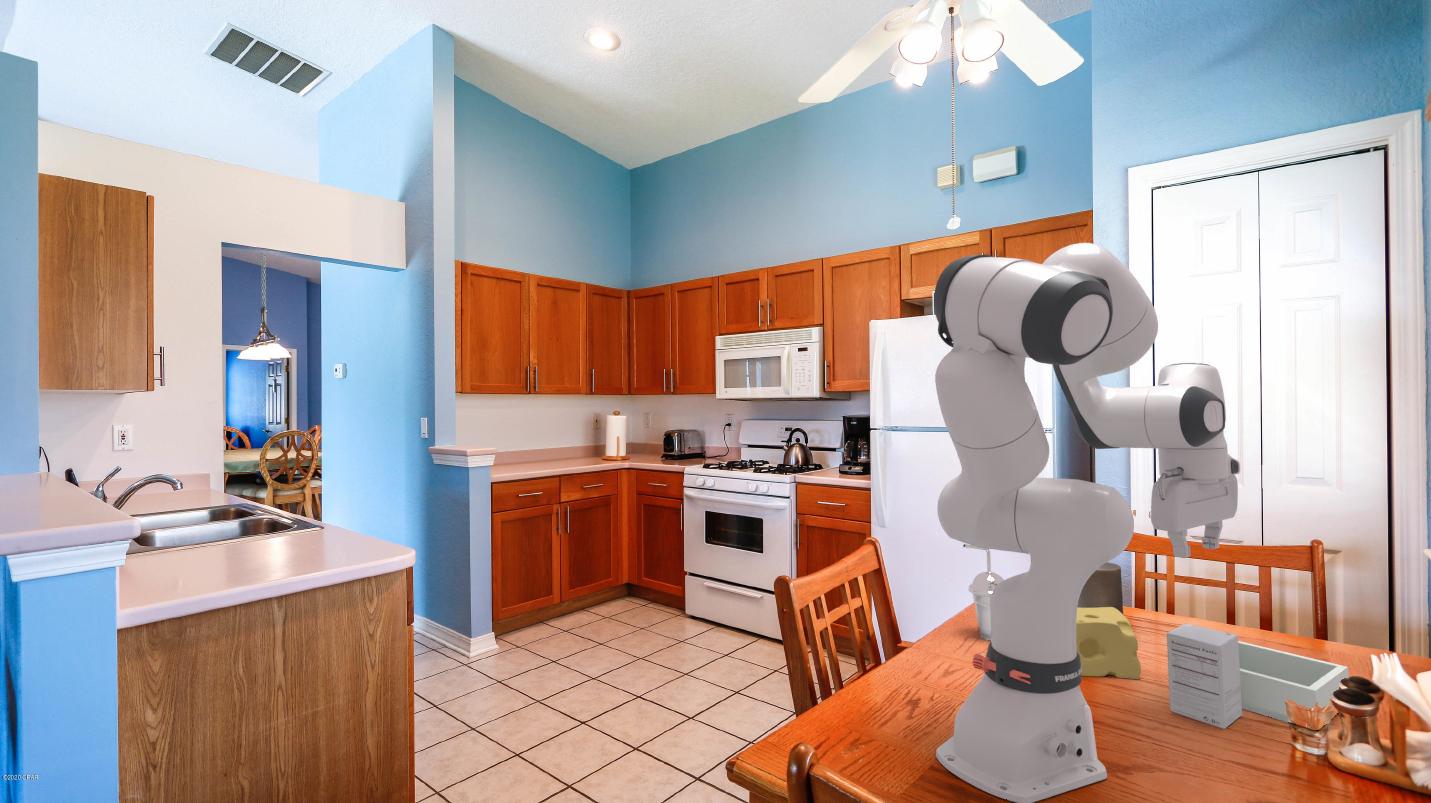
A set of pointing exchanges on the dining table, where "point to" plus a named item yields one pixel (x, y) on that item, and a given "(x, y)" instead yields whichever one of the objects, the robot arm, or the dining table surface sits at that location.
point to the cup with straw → (984, 595)
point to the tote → (1284, 680)
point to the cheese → (1106, 643)
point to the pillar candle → (1103, 588)
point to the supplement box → (1204, 675)
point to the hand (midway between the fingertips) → (1196, 552)
